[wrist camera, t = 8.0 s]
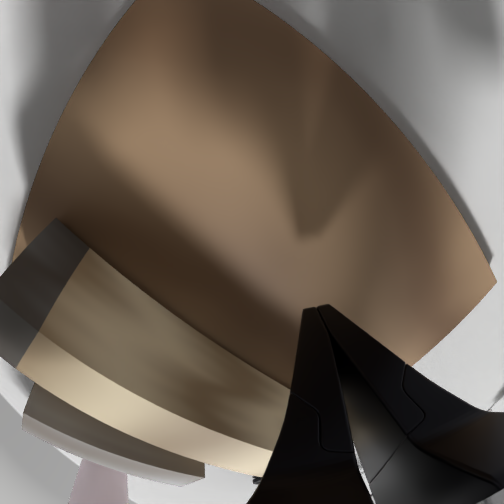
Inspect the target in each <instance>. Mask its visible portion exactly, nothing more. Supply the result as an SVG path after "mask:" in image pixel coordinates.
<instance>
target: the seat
mask: <svg viewBox="0 0 504 504" xmlns="http://www.w3.org/2000/svg"><path fill="white" fill-rule="evenodd" d="M55 218H57V219H58V220H59V221H60V222H61V223H62V224H64V225H65V226H66V227H67V228H68V229H69V230H70V231H71V232H72V233H73V234H75V235H76V236H77V237H78V238H79V239H80V240H81V241H82V242H84V243H85V244H86V245H87V246H88V247H89V248H91V249H92V250H93V251H94V252H95V253H96V254H98V255H99V256H100V257H101V258H102V259H103V260H105V261H106V262H107V263H108V264H109V265H111V266H112V267H113V268H114V269H116V270H117V271H118V272H119V273H120V274H122V275H123V276H124V277H125V278H127V279H128V280H129V281H130V282H132V283H133V284H134V285H136V286H137V287H138V288H139V289H141V290H142V291H143V292H145V293H146V294H147V295H148V296H150V297H151V298H152V299H154V300H155V301H156V302H158V303H159V304H160V305H162V306H163V307H164V308H166V309H167V310H169V311H170V312H171V313H173V314H174V315H175V316H177V317H178V318H180V319H181V320H182V321H184V322H185V323H187V324H188V325H189V326H191V327H192V328H194V329H195V330H197V331H198V332H199V333H201V334H202V335H204V336H205V337H207V338H208V339H210V340H211V341H213V342H214V343H216V344H217V345H219V346H220V347H222V348H223V349H225V350H226V351H228V352H229V353H231V354H232V355H234V356H236V357H237V358H239V359H240V360H242V361H243V362H245V363H247V364H248V365H250V366H251V367H253V368H255V369H256V370H258V371H259V372H261V373H263V374H264V375H266V376H268V377H269V378H271V379H273V380H274V381H276V382H278V383H279V384H281V385H283V386H285V387H286V388H288V389H290V388H291V383H292V377H293V370H294V364H295V358H296V351H297V345H298V338H299V331H300V324H301V317H302V310H303V309H304V308H309V307H317V306H319V305H324V304H330V305H331V306H333V307H334V308H335V309H337V310H338V311H339V312H341V313H342V314H343V315H345V316H346V317H347V318H348V319H350V320H351V321H352V322H354V323H355V324H356V325H358V326H359V327H360V328H362V329H363V330H364V331H365V332H367V333H368V334H369V335H371V336H372V337H373V338H375V339H376V340H377V341H379V342H380V343H381V344H382V345H384V346H385V347H386V348H388V349H389V350H390V351H392V352H393V353H394V354H395V355H397V356H398V357H399V358H401V359H402V360H403V361H405V363H406V364H409V365H410V366H413V365H414V364H415V363H416V362H417V361H419V360H420V359H421V358H422V357H423V356H424V355H426V354H427V353H428V352H429V351H430V350H431V349H432V348H433V347H435V346H436V345H437V344H438V343H439V342H440V341H441V340H442V339H443V338H444V337H445V336H447V335H448V334H449V333H450V332H451V331H452V330H453V329H454V328H455V327H456V326H457V325H458V324H459V323H460V322H461V321H462V320H463V319H464V318H465V317H466V316H467V315H468V314H469V313H470V312H471V311H472V310H473V308H474V307H475V306H476V305H477V304H478V303H479V302H480V301H481V300H482V299H483V298H484V296H485V295H486V294H487V293H488V292H489V291H490V290H491V289H492V287H493V286H494V285H495V284H496V283H497V281H496V278H495V276H494V274H493V272H492V270H491V268H490V266H489V264H488V262H487V260H486V258H485V256H484V254H483V252H482V250H481V248H480V247H479V245H478V243H477V241H476V239H475V237H474V236H473V234H472V232H471V230H470V229H469V227H468V225H467V223H466V222H465V220H464V218H463V217H462V215H461V213H460V212H459V210H458V209H457V207H456V205H455V204H454V202H453V201H452V199H451V198H450V196H449V195H448V193H447V192H446V190H445V189H444V187H443V186H442V184H441V183H440V181H439V180H438V179H437V177H436V176H435V174H434V173H433V172H432V170H431V169H430V167H429V166H428V165H427V163H426V162H425V161H424V159H423V158H422V157H421V155H420V154H419V153H418V152H417V150H416V149H415V148H414V146H413V145H412V144H411V143H410V141H409V140H408V139H407V138H406V137H405V135H404V134H403V133H402V132H401V131H400V129H399V128H398V127H397V126H396V125H395V123H394V122H393V121H392V120H391V119H390V118H389V117H388V116H387V114H386V113H385V112H384V111H383V110H382V109H381V108H380V107H379V106H378V105H377V103H376V102H375V101H374V100H373V99H372V98H371V97H370V96H369V95H368V94H367V93H366V92H365V91H364V90H363V89H362V88H361V87H360V86H359V85H358V84H357V83H356V82H355V81H354V80H353V79H352V78H351V77H350V76H349V75H348V74H347V73H346V72H345V71H343V70H342V69H341V68H340V67H339V66H338V65H337V64H336V63H335V62H334V61H333V60H331V59H330V58H329V57H328V56H327V55H326V54H325V53H323V52H322V51H321V50H320V49H319V48H318V47H316V46H315V45H314V44H313V43H312V42H310V41H309V40H308V39H307V38H305V37H304V36H303V35H302V34H300V33H299V32H298V31H296V30H295V29H294V28H293V27H291V26H290V25H289V24H287V23H286V22H285V21H283V20H282V19H280V18H279V17H278V16H276V15H275V14H273V13H272V12H271V11H269V10H268V9H266V8H265V7H263V6H262V5H260V4H259V3H257V2H256V1H254V0H136V1H135V2H134V3H133V4H132V5H131V7H130V8H129V9H128V10H127V12H126V13H125V14H124V15H123V17H122V18H121V19H120V21H119V22H118V23H117V25H116V26H115V27H114V29H113V30H112V31H111V33H110V34H109V36H108V37H107V39H106V40H105V41H104V43H103V44H102V46H101V47H100V49H99V50H98V52H97V53H96V55H95V56H94V58H93V60H92V61H91V63H90V64H89V66H88V68H87V69H86V71H85V73H84V74H83V76H82V78H81V79H80V81H79V83H78V85H77V86H76V88H75V90H74V92H73V94H72V96H71V97H70V99H69V101H68V103H67V105H66V107H65V109H64V111H63V113H62V115H61V117H60V119H59V121H58V123H57V126H56V128H55V130H54V132H53V134H52V137H51V139H50V141H49V143H48V146H47V148H46V151H45V153H44V156H43V158H42V161H41V163H40V166H39V168H38V171H37V174H36V177H35V179H34V182H33V185H32V188H31V191H30V194H29V197H28V201H27V204H26V207H25V211H24V214H23V218H22V221H21V225H20V229H19V233H18V237H17V241H16V245H15V250H14V254H13V259H12V263H13V261H14V260H15V259H16V258H17V257H18V256H19V255H20V254H21V253H22V251H23V250H24V249H25V248H26V247H27V246H28V245H29V244H30V243H31V242H32V241H33V240H34V239H35V238H36V237H37V236H38V235H39V234H40V233H41V232H42V231H43V230H44V229H45V228H46V227H47V226H48V225H49V224H50V223H51V222H52V221H53V220H54V219H55ZM406 364H405V365H406ZM22 430H24V431H25V432H27V433H29V434H31V435H33V436H35V437H37V438H39V439H41V440H43V441H45V442H47V443H49V444H51V445H53V446H55V447H57V448H60V449H62V450H64V451H66V452H69V453H71V454H73V455H76V456H78V457H81V458H83V459H86V460H88V461H91V462H94V463H96V464H99V465H102V466H105V467H108V468H111V469H114V470H117V471H120V472H123V473H126V474H130V475H133V476H137V477H140V478H144V479H148V480H151V481H155V482H160V483H164V484H168V485H173V486H178V487H182V486H184V485H187V484H190V483H193V482H195V481H198V480H201V479H203V478H205V466H204V463H203V462H200V461H197V460H194V459H191V458H187V457H185V456H182V455H179V454H176V453H173V452H170V451H168V450H165V449H162V448H160V447H157V446H155V445H152V444H150V443H147V442H145V441H142V440H140V439H138V438H135V437H133V436H131V435H129V434H126V433H124V432H122V431H120V430H118V429H116V428H113V427H111V426H109V425H107V424H105V423H103V422H101V421H99V420H97V419H96V418H94V417H92V416H90V415H88V414H86V413H84V412H82V411H81V410H79V409H77V408H75V407H74V406H72V405H70V404H68V403H67V402H65V401H63V400H62V399H60V398H59V397H57V396H55V395H54V394H52V393H51V392H49V391H47V390H46V389H44V388H43V387H41V386H40V385H38V384H37V383H34V386H33V388H32V391H31V393H30V396H29V398H28V401H27V404H26V406H25V409H24V412H23V420H22Z"/></svg>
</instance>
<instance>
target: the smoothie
mask: <svg viewBox="0 0 504 504" xmlns="http://www.w3.org/2000/svg"><path fill="white" fill-rule="evenodd" d="M68 504H129V500H128V483H127V474H126V473H123V472H120V471H117V470H114V469H111V468H108V467H105V466H102V465H99V464H96V463H94V462H91V461H88V460H86V459H83V458H82V461H81V464H80V467H79V470H78V473H77V476H76V479H75V482H74V486H73V489H72V492H71V495H70V499H69V502H68Z"/></svg>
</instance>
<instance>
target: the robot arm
mask: <svg viewBox="0 0 504 504" xmlns="http://www.w3.org/2000/svg"><path fill="white" fill-rule="evenodd" d="M405 364H406V363H405V361H403V360H402V359H401V358H399V357H398V356H397V355H395V354H394V353H393V352H392V351H390V350H389V349H388V348H386V347H385V346H384V345H382V344H381V343H380V342H379V341H377V340H376V339H375V338H373V337H372V336H371V335H369V334H368V333H367V332H365V331H364V330H363V329H362V328H360V327H359V326H358V325H356V324H355V323H354V322H352V321H351V320H350V319H348V318H347V317H346V316H345V315H343V314H342V313H341V312H339V311H338V310H337V309H335V308H334V307H333V306H331V305H330V304H324V305H319V306H317V307H309V308H304V309H303V310H302V317H301V324H300V331H299V338H298V345H297V351H296V358H295V364H294V370H293V377H292V383H291V388H290V395H289V399H288V405H287V409H286V414H285V418H284V422H283V425H282V428H281V431H280V434H279V437H278V440H277V442H276V445H275V447H274V450H273V452H272V455H271V457H270V460H269V462H268V465H267V467H266V470H265V472H264V474H263V477H259V478H256V479H254V480H253V484H259V485H258V487H257V489H256V490H255V492H254V494H253V495H252V496H251V498H250V499H249V501H248V502H247V503H246V504H374V502H373V500H372V498H371V496H370V494H369V491H368V489H367V487H366V485H365V483H364V481H363V478H362V476H361V474H360V471H359V468H358V465H357V460H356V456H355V450H354V445H355V448H356V450H357V453H358V456H359V458H360V461H361V464H362V467H363V469H364V472H365V475H366V478H367V481H368V483H369V486H370V489H371V492H372V495H373V498H374V500H375V503H376V504H504V412H489V411H484V410H481V409H478V408H476V407H474V406H472V405H470V404H468V403H467V402H465V401H463V400H462V399H460V398H458V397H457V396H455V395H453V394H452V393H450V392H448V391H446V390H445V389H443V388H441V387H440V386H438V385H437V384H435V383H434V382H432V381H430V380H429V379H427V378H426V377H425V376H423V375H422V374H421V373H419V372H418V371H416V370H415V369H414V368H412V367H411V366H410V365H409V364H406V365H405ZM353 442H354V445H353Z"/></svg>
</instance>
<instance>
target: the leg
mask: <svg viewBox="0 0 504 504" xmlns="http://www.w3.org/2000/svg"><path fill="white" fill-rule="evenodd" d="M0 357H2V358H3V359H4V360H5V361H7V362H8V363H9V364H10V365H12V366H13V367H14V368H16V369H17V370H18V371H20V372H21V373H23V374H24V375H25V376H27V377H28V378H30V379H31V380H32V381H34V382H35V383H37V384H38V385H40V386H41V387H43V388H44V389H46V390H47V391H49V392H51V393H52V394H54V395H55V396H57V397H59V398H60V399H62V400H63V401H65V402H67V403H68V404H70V405H72V406H74V407H75V408H77V409H79V410H81V411H82V412H84V413H86V414H88V415H90V416H92V417H94V418H96V419H97V420H99V421H101V422H103V423H105V424H107V425H109V426H111V427H113V428H116V429H118V430H120V431H122V432H124V433H126V434H129V435H131V436H133V437H135V438H138V439H140V440H142V441H145V442H147V443H150V444H152V445H155V446H157V447H160V448H162V449H165V450H168V451H170V452H173V453H176V454H179V455H182V456H185V457H187V458H191V459H194V460H197V461H200V462H203V463H206V464H210V465H213V466H217V467H220V468H224V469H228V470H232V471H236V472H240V473H244V474H249V475H253V476H258V477H263V474H264V472H265V470H266V467H267V465H268V462H269V460H270V457H271V455H272V452H273V450H274V447H275V445H276V442H277V440H278V437H279V434H280V431H281V428H282V425H283V422H284V418H285V414H286V409H287V405H288V399H289V395H290V389H288V388H286V387H285V386H283V385H281V384H279V383H278V382H276V381H274V380H273V379H271V378H269V377H268V376H266V375H264V374H263V373H261V372H259V371H258V370H256V369H255V368H253V367H251V366H250V365H248V364H247V363H245V362H243V361H242V360H240V359H239V358H237V357H236V356H234V355H232V354H231V353H229V352H228V351H226V350H225V349H223V348H222V347H220V346H219V345H217V344H216V343H214V342H213V341H211V340H210V339H208V338H207V337H205V336H204V335H202V334H201V333H199V332H198V331H197V330H195V329H194V328H192V327H191V326H189V325H188V324H187V323H185V322H184V321H182V320H181V319H180V318H178V317H177V316H175V315H174V314H173V313H171V312H170V311H169V310H167V309H166V308H164V307H163V306H162V305H160V304H159V303H158V302H156V301H155V300H154V299H152V298H151V297H150V296H148V295H147V294H146V293H145V292H143V291H142V290H141V289H139V288H138V287H137V286H136V285H134V284H133V283H132V282H130V281H129V280H128V279H127V278H125V277H124V276H123V275H122V274H120V273H119V272H118V271H117V270H116V269H114V268H113V267H112V266H111V265H109V264H108V263H107V262H106V261H105V260H103V259H102V258H101V257H100V256H99V255H98V254H96V253H95V252H94V251H93V250H92V249H91V248H89V247H88V246H87V245H86V244H85V243H84V242H82V241H81V240H80V239H79V238H78V237H77V236H76V235H75V234H73V233H72V232H71V231H70V230H69V229H68V228H67V227H66V226H65V225H64V224H62V223H61V222H60V221H59V220H58V219H57V218H55V219H54V220H53V221H52V222H51V223H50V224H49V225H48V226H47V227H46V228H45V229H44V230H43V231H42V232H41V233H40V234H39V235H38V236H37V237H36V238H35V239H34V240H33V241H32V242H31V243H30V244H29V245H28V246H27V247H26V248H25V249H24V250H23V251H22V253H21V254H20V255H19V256H18V257H17V258H16V259H15V260H14V261H13V263H12V264H11V265H10V266H9V267H8V268H7V270H6V271H5V272H4V273H3V274H2V275H1V277H0Z"/></svg>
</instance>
